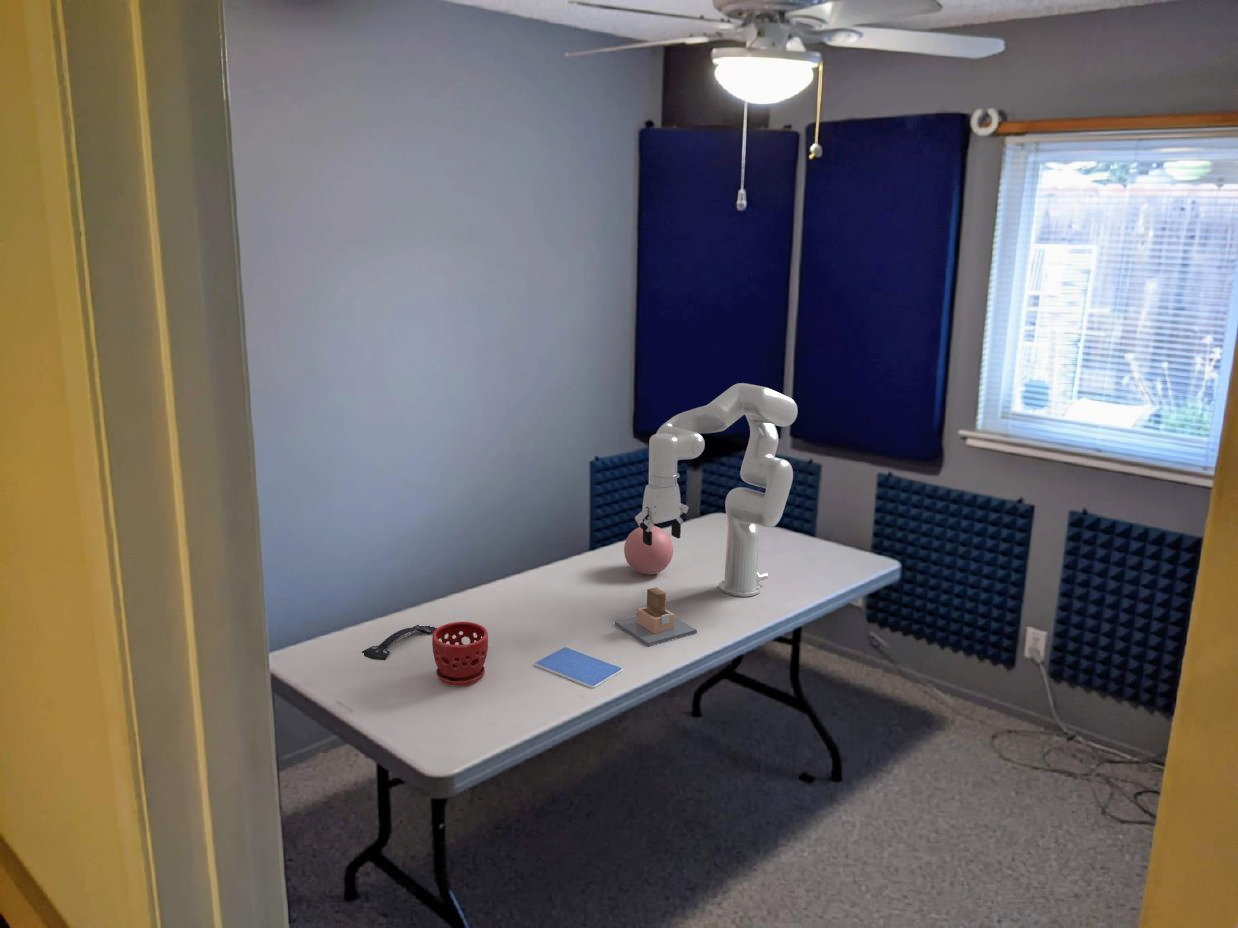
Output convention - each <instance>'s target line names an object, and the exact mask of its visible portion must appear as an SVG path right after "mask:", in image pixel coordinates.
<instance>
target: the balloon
mask: <svg viewBox="0 0 1238 928" xmlns="http://www.w3.org/2000/svg"><path fill="white" fill-rule="evenodd" d="M648 525H649V524H648ZM648 525H647V526H648ZM650 531H651V532H652V545H651V546H649V545H647V544H645V543H643V530H642V529H641V528H640V527H639V526H638V527H637V528H635V529H634V530H632V531H631V532H630V533H629V534H628V536H627V537H626V540H625V542H624V546H623V551H624V552H623V553H624V559H625V560H626V563H627V564H628V565H629V566H630V568H631V569H632V570H634V571H635V572H637V573H639V574H642V575H647V576H648V575H656V574H658V573H660V572H663V571H664V570H665V569H666V568H667V567H668V566H669V565H670V563H671V561H672V558H673V556H674V555H673V554H674V545H673V541H672V539H671V534H670V533H667V532H666V531H665V529H663V528H662V527H658V526H656V525H653V527H652V529H651V530H650Z"/></svg>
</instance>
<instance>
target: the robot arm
mask: <svg viewBox="0 0 1238 928" xmlns="http://www.w3.org/2000/svg"><path fill="white" fill-rule="evenodd" d="M744 416H745V418H746V420H747V423H748V425H749V431H750V432H749V438H748V444H747V447H746V450H745V454H744V457H743V460H742V464H741V468H740V472H739V473H740V478H741V480H742V481H744V482H745V483H746V484H748V485H752V486H755V487H759V488H763V489H765V492H761V491H759V490H755V489H752V488H748V487H741V486H740V487H735V488H733V489H731V490H730V491H729V492H728V493H727V495H726V498H725V502H724V504H725V514H726V523H727V526H726V527H727V528H726V529H727V530H726V548H725V549H726V550H725V562H724V563H725V565H724V580H721V581H720V582H719V584H718V589H719V590H720V591H721V592H722V593H724V594H727V595H729V596H734V597H743V598H745V597H752V596H756V595H758V594H759V593H761V592H762V586H761V585H760V582H761V581H764V580H767V579H768V578H769V575H768V572H767V573H766V572H763V573H759V572H758V558H759V543H760V532H759V528H758V526H760V527H763V528H774V527H775V526H776V525H778V523H779V522H780V520H781V518H782V516H783V514H784V510H785V506H786V505H787V501H788V497H789V494H790V491H791V488H792V484H793V480H794V470H793V467H792V465H791V463H790V462H789V461H788V460H787V459H784V458H779V457H776V453H777V449H778V445H779V434H778V430H777V428H776V426H778V427H783V428H785V427H789V426H791V425H792V424H793V423H794V422H795V421H796V419H797V417H798V405H797V403H796V402H795V400H794V399H792V398H791V397H790V396H786V395H784V394H782V393H781V392H778V391H776V390H773V389H771V388H769V387H766V386H762V385H761V386H760V385H756V384H752V383H751V384H750V383H746V382H745V383H744V382H741V383H739V382H738V383H736V384H734V385H732V386H730V387H729V388H727V389H726V390H725V391H724V392H722V393H721V394H720V395H718V396H717V397H716V398H714V399H713V400H712V401H710V402H709V403H708V404H706V405H703V406H698V407H696V408H692V409H690V410H686V411H683V412H681V413H678V414H676V415H674V416H672V417H671V418H670V419H669V420H666V422H664V423H663V424H662V425H661V426H659V428H658V429H657V431H656V433H655V434H652V435H651V436H650V437H649V441H648V443H649V446H648V447H649V448H648V484H646V486H645V489H644V493H643V499H642V510H641V511H640V512H639V513H638V514H636V515H635V517H634V520H635V522H636V523H637V526H638V527H640V528H641V529H642V530H643V543H645V544H647V545H649V546H651V545H652V532H651V531H650V530H651V529H652V527H653V526H655V524H656V525H657V524H661V523H662V524H663V523H665V522H669V521H671V529H670V531H671V532H670V533H671V534H670V536H672V537H674V538H676V539H680V538H681V534H682V533H681V531H682V530H681V527H682V524H684V519H686V517H687V514H688V511H689V506H688V505H686V504H684V503H681V502H682V500H681V492H680V491H681V490H680V486H679V483H678V478H680V476H681V475H680V473H679V472H678V461H680V460H682V461H683V460H693V459H697V458H698V457H699V456H700V455H702V453H703V452H704V450H705V439H704V437H703V436H702V434H710V433H711V434H712V433H713V434H714V433H718V432H723V431H725V430H727V429H729V427H731V426H732V425H733V424H735V422H736V421H738V420H739V419H740V418H742V417H744ZM643 520H644V521H643ZM647 525H648V526H647Z"/></svg>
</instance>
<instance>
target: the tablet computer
mask: <svg viewBox="0 0 1238 928" xmlns="http://www.w3.org/2000/svg"><path fill="white" fill-rule="evenodd" d="M533 666H534V667H537V668H539V669H542V670H545V671H547V672H550V673H552V674H554V675H557V676H559V677H562V678H565V679H566V680H570V681H572V682H575V683H577V684H579V685H582V686H584V687H586V686H587V687H586V688H588V687H589V689H591V688H592V689H594V688H595V689H597V688H598V687H600V686H602V685H603V684H605V683H606V682H605V681H607V682H609V681H610V680H612V679H613V678H612V677H614V676H615V677H617V676H619V675H620V674H621V673H620V672H622V671H623V672H624V669H623V667H620V666H617V665H615V664H613V663H610V662H606V661H604V660H601V659H598V658H596V657H593V656H591V655H587V654H585V653H582V652H580V651H577V650H574V649H572V648H569V647H566V646H565V647H562V648H559V649H558V650H556V651H554V652H553V653H551V654H548V655H547V656H545V657H542V658H541V659H540V660H537V661H536V662H534V665H533ZM623 672H622V673H623ZM619 673H620V674H619ZM618 674H619V675H618ZM616 675H617V676H616ZM615 677H614V678H615ZM611 678H612V679H611ZM609 679H610V680H609ZM604 682H605V683H604ZM601 684H602V685H601ZM596 687H597V688H596ZM592 689H591V690H592Z"/></svg>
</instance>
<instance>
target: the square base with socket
mask: <svg viewBox="0 0 1238 928" xmlns="http://www.w3.org/2000/svg"><path fill="white" fill-rule="evenodd" d="M646 610H647V606H644V607H641V608H637V609H636V612H637V613H636V615H633V616H629V617H625V618H622V619H619V620H615V621H614V626H616V627H618V628H619V629H621V630H622V631H624V632H625V633H627V634H628V635H630V636H632V637H633V638H635V639H636V638H637V639H636V640H638V641H639V640H640V641H639V642H641V643H642V642H643V643H642V644H644V643H645V644H644V645H646V646H647V645H648V646H647V647H651V646H650V645H652V646H654V645H653V644H655V645H658V644H657V643H659V644H662V643H666V642H669V641H668V640H670V641H672V639H674V640H676V639H675V638H677V639H680V638H684V637H687V635H688V636H691V634H692V635H694V634H698V633H697V632H698V630H697V629H696V628H695V627H693V626H691V625H690V624H687V623H686V622H684V621H683V620H681V619H680V618H677V617H676V615H675V613H673V612H671V611H669V610H668V609H666V608H665V615H661V617H657V618H655V617H653V616H652V615H650V614H648V613H646ZM665 641H666V642H665Z"/></svg>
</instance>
